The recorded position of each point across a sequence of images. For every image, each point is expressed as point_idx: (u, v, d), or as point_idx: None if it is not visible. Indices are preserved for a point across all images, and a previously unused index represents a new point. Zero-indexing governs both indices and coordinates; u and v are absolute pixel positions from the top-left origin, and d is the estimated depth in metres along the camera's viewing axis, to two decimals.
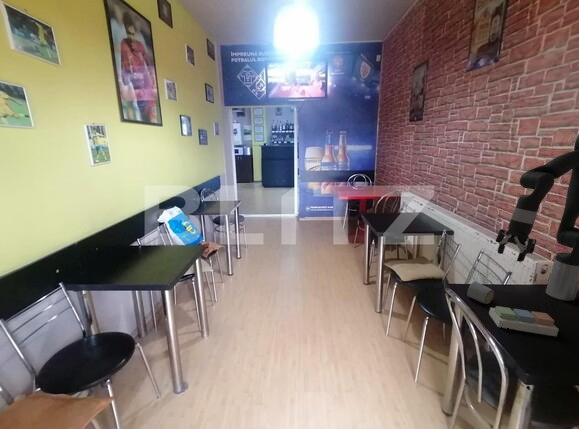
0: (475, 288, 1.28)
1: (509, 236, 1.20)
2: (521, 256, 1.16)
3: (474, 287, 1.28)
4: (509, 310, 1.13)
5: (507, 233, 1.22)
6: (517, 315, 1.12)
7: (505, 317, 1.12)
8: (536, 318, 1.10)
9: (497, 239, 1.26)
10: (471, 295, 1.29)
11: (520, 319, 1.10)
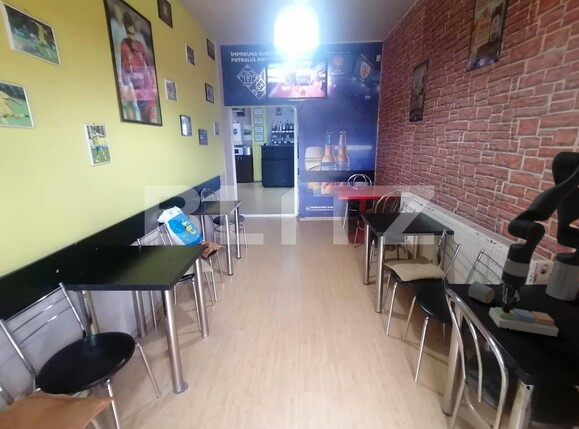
0: (476, 288, 1.28)
1: (503, 286, 1.12)
2: (505, 307, 1.12)
3: (475, 287, 1.29)
4: None
5: None
6: (517, 315, 1.12)
7: (505, 318, 1.12)
8: (536, 318, 1.10)
9: (502, 294, 1.15)
10: (472, 295, 1.30)
11: (520, 319, 1.10)
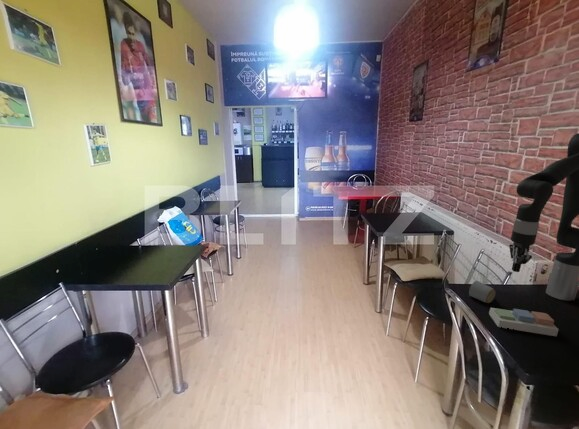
0: (477, 287, 1.29)
1: (513, 247, 1.16)
2: (515, 266, 1.16)
3: (476, 286, 1.29)
4: (509, 313, 1.13)
5: (513, 247, 1.18)
6: (517, 315, 1.12)
7: None
8: (536, 318, 1.10)
9: (511, 255, 1.19)
10: (473, 294, 1.30)
11: (520, 319, 1.10)
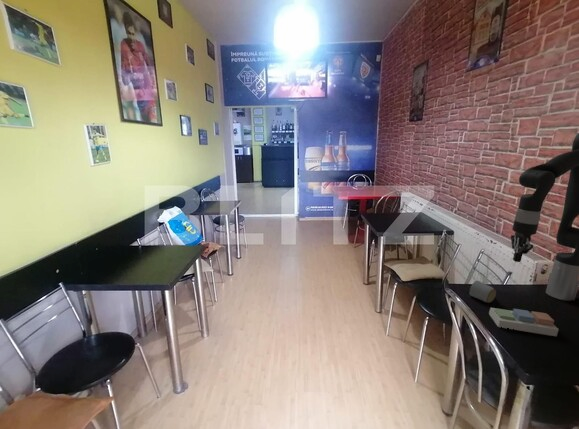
0: (477, 287, 1.29)
1: (515, 237, 1.18)
2: (516, 256, 1.17)
3: (476, 286, 1.29)
4: (509, 313, 1.13)
5: None
6: (517, 315, 1.12)
7: None
8: (536, 318, 1.10)
9: (513, 245, 1.20)
10: (473, 294, 1.30)
11: (520, 319, 1.10)
